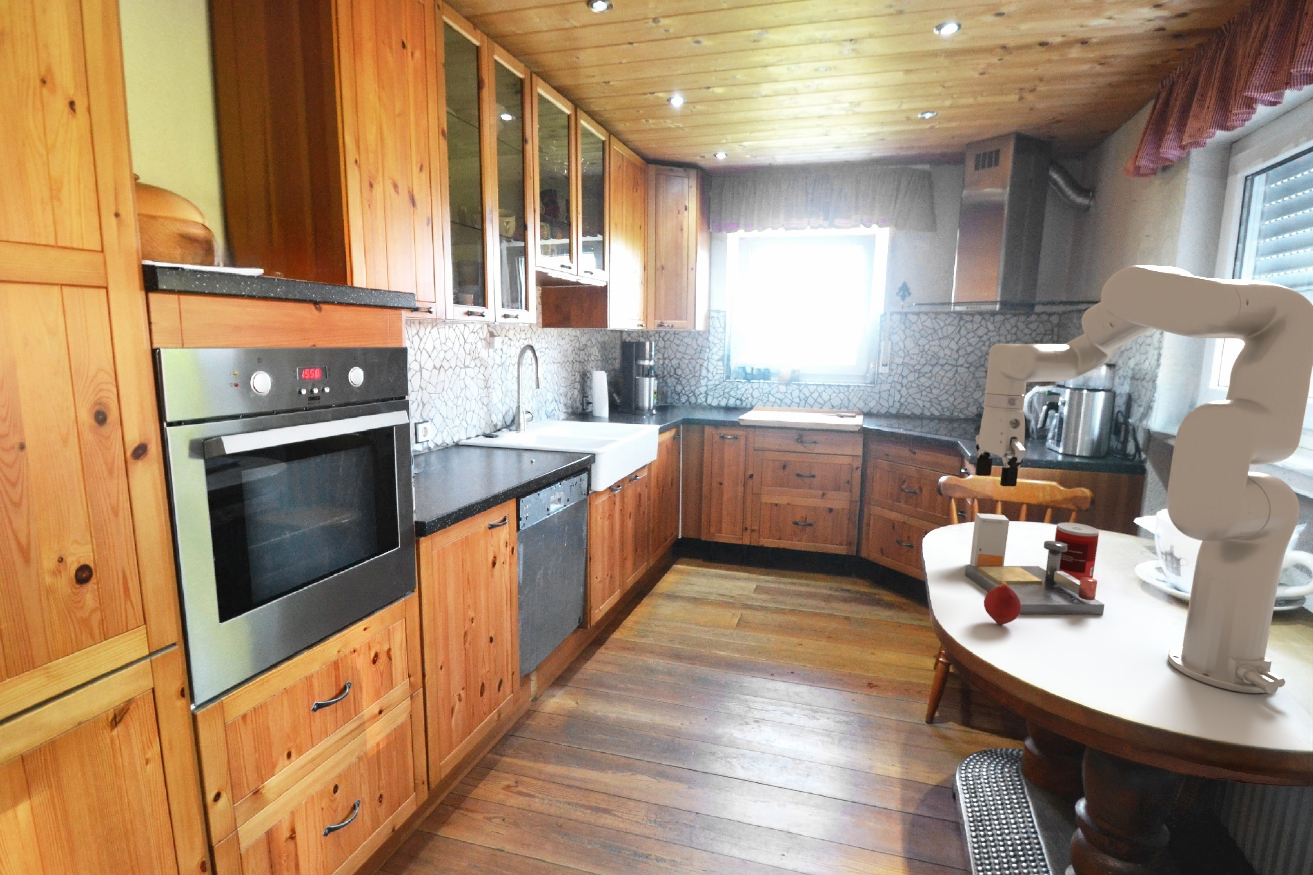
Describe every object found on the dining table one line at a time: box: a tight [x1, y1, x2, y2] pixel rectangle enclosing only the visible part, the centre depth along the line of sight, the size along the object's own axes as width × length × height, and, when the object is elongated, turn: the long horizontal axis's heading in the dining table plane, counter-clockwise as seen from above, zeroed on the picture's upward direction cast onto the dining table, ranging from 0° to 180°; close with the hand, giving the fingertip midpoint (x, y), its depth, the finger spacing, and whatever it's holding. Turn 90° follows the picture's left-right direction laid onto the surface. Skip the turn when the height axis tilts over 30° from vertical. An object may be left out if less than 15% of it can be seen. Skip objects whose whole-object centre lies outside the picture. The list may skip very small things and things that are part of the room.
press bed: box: [964, 540, 1105, 616], centre depth 131 cm, size 20×16×10 cm
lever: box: [1054, 571, 1098, 600], centre depth 126 cm, size 10×3×4 cm, turn 2°
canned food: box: [1054, 522, 1100, 580], centre depth 140 cm, size 8×8×11 cm
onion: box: [983, 581, 1021, 626], centre depth 117 cm, size 6×6×8 cm
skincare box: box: [969, 513, 1010, 566], centre depth 144 cm, size 6×4×12 cm
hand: (995, 480), depth 142 cm, fingers open, 9 cm apart
